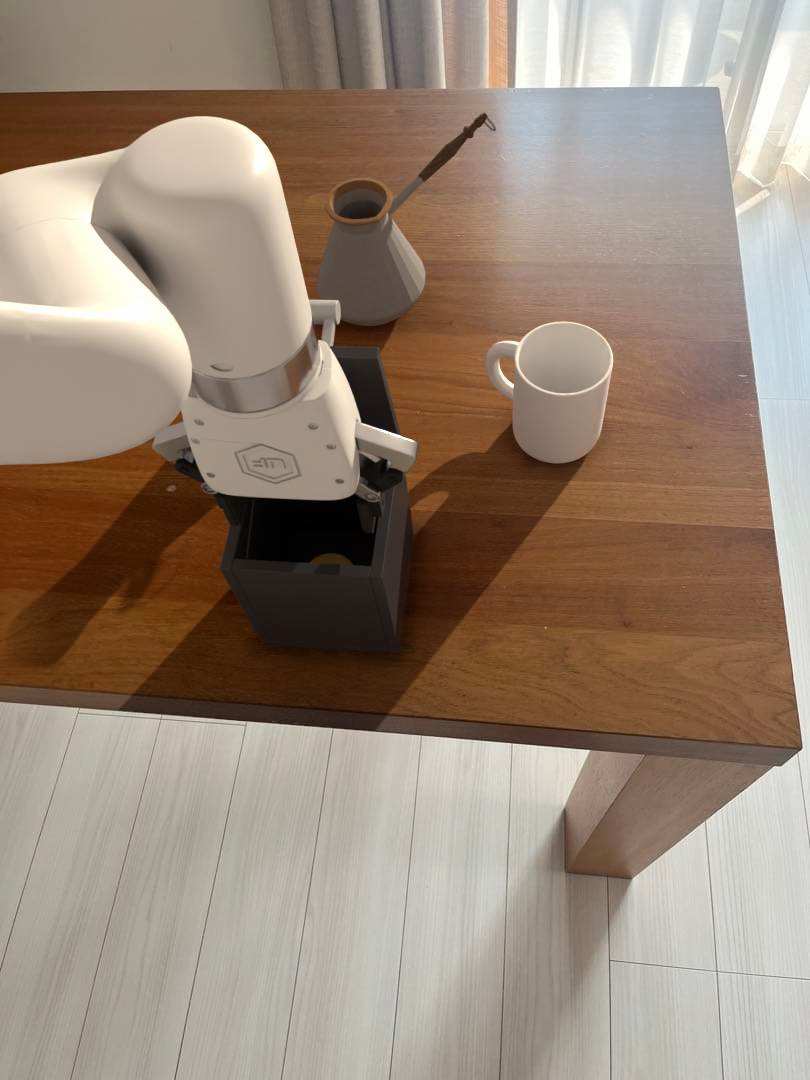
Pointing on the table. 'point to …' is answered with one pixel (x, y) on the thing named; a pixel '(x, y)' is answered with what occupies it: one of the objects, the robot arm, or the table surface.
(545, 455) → the mug
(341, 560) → the cylinder
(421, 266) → the coffee pot
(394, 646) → the dark grey storage bin
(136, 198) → the robot arm
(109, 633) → the table surface
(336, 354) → the chamber lid
